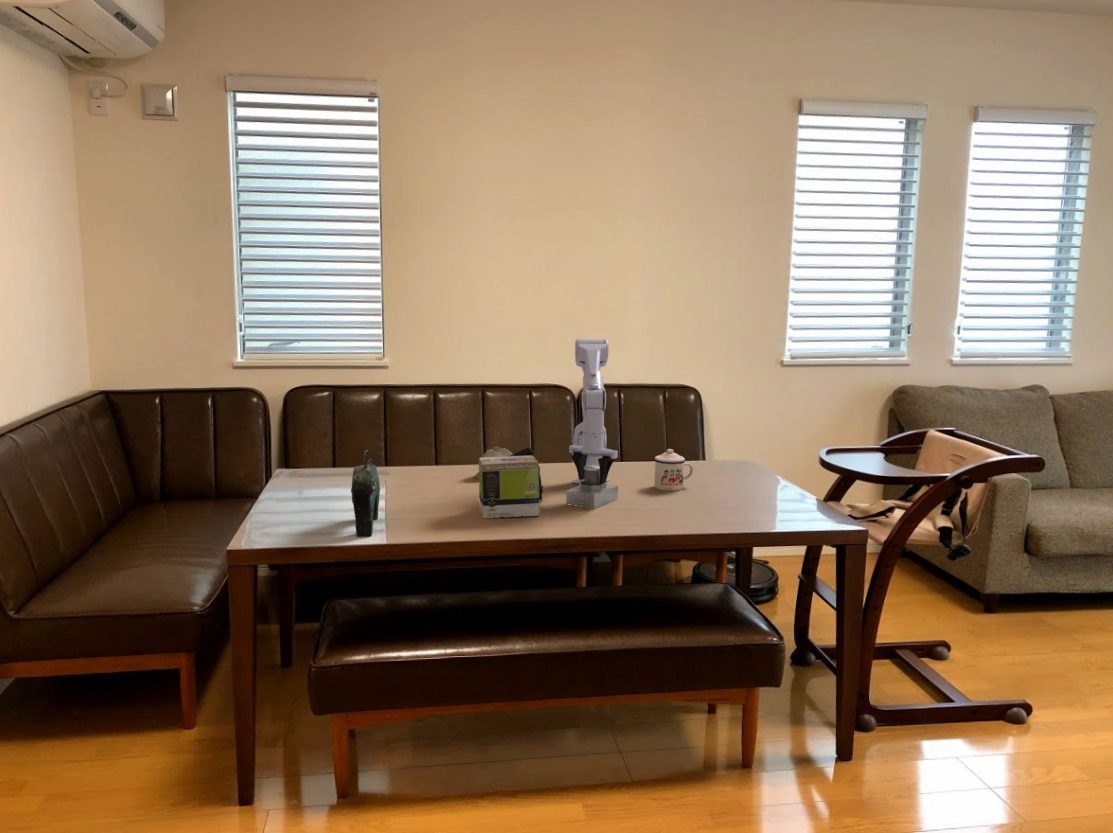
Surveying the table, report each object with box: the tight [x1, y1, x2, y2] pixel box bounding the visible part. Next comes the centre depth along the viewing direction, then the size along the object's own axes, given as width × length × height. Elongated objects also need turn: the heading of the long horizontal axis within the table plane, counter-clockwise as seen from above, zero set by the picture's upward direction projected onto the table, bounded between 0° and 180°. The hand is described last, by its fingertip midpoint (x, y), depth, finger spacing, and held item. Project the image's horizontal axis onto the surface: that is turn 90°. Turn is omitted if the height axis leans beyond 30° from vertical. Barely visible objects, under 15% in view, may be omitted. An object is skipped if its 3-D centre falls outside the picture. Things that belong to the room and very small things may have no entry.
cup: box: [584, 465, 600, 485], centre depth 243 cm, size 5×5×6 cm
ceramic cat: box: [350, 449, 381, 538], centre depth 216 cm, size 20×6×20 cm, turn 5°
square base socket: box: [565, 480, 619, 510], centre depth 244 cm, size 13×9×6 cm
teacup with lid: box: [653, 448, 694, 492], centre depth 261 cm, size 12×9×12 cm
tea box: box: [478, 455, 540, 519], centre depth 231 cm, size 15×10×15 cm
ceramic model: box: [473, 446, 514, 480], centre depth 273 cm, size 14×11×10 cm
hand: (592, 480), depth 243 cm, fingers open, 6 cm apart
